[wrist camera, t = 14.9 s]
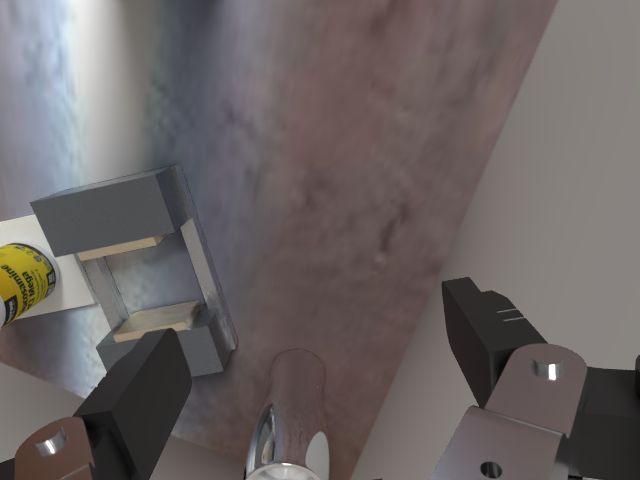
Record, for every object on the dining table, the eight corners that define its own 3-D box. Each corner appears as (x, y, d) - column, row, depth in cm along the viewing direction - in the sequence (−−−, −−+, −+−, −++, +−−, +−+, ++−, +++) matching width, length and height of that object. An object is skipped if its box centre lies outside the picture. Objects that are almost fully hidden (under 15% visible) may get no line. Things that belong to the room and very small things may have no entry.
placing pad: (-37, 230, 41) (-42, 232, 40) (57, 209, 40) (54, 210, 39) (9, 318, 44) (5, 321, 43) (98, 300, 43) (94, 303, 42)
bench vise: (61, 190, 39) (25, 203, 35) (180, 163, 38) (159, 173, 34) (134, 360, 45) (111, 391, 41) (238, 341, 44) (227, 370, 40)
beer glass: (293, 408, 47) (278, 543, 33) (252, 367, 45) (218, 490, 31) (342, 377, 46) (349, 504, 31) (302, 333, 44) (290, 446, 30)
